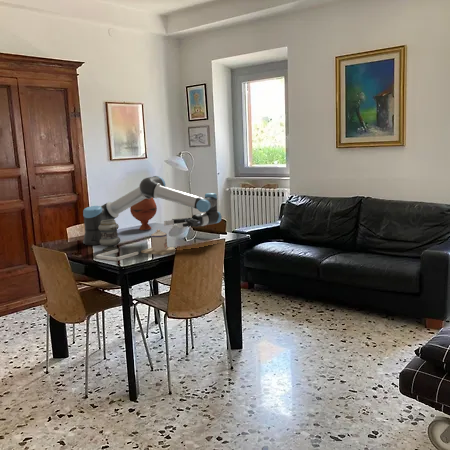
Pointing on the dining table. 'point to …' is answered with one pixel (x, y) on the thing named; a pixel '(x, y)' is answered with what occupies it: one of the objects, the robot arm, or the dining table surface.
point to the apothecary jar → (109, 235)
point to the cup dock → (103, 256)
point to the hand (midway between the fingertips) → (171, 224)
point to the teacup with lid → (159, 241)
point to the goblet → (144, 212)
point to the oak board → (150, 251)
